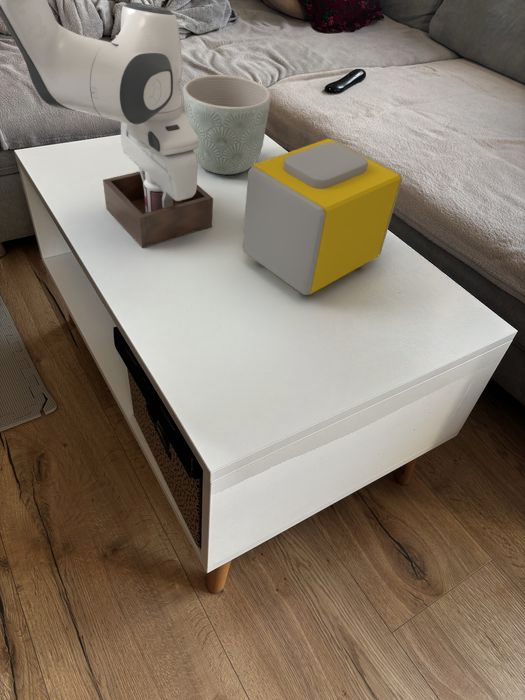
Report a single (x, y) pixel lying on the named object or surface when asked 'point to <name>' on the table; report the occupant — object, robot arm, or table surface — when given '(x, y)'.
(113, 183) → the holder
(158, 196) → the pill bottle
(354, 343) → the table surface
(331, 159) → the alarm clock
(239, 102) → the planter
